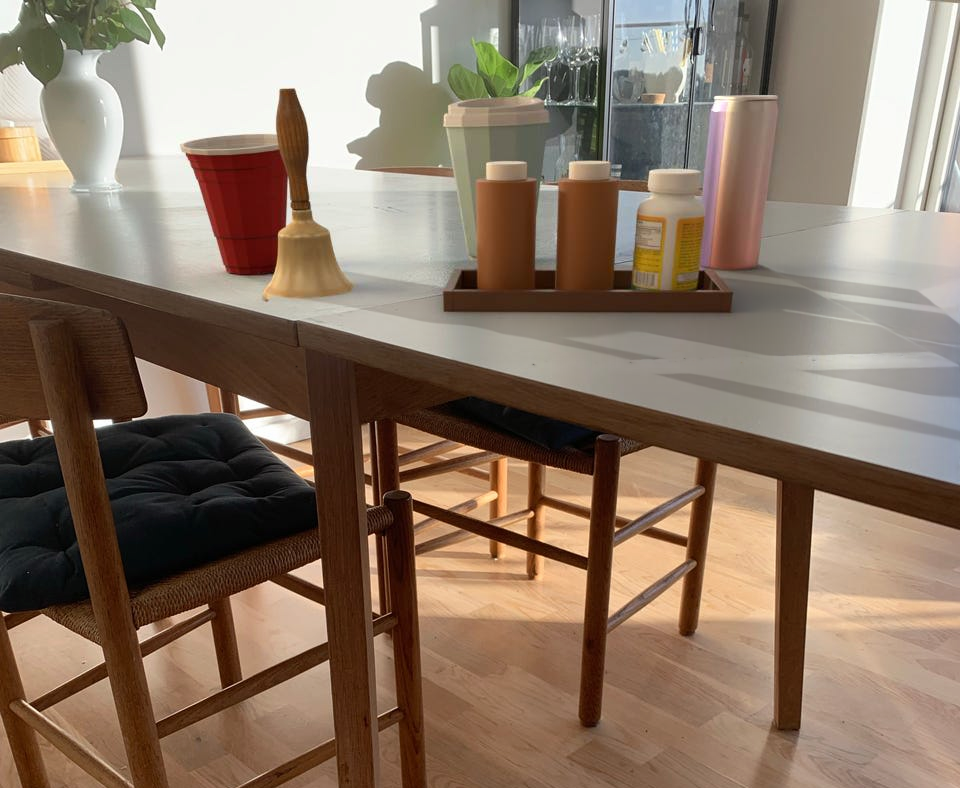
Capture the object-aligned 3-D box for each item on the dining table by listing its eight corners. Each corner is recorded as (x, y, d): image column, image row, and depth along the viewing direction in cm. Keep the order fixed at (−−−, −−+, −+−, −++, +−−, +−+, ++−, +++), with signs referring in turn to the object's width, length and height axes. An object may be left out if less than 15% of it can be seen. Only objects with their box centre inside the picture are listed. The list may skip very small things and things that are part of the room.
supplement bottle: (629, 305, 76) (639, 173, 71) (630, 292, 81) (639, 167, 76) (697, 306, 76) (711, 173, 71) (694, 293, 80) (707, 168, 75)
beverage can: (682, 271, 93) (699, 96, 86) (716, 264, 97) (735, 95, 89) (735, 278, 89) (757, 96, 82) (768, 270, 93) (792, 95, 85)
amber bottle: (606, 292, 81) (614, 159, 76) (617, 303, 77) (626, 164, 72) (551, 293, 81) (555, 160, 76) (559, 304, 77) (563, 164, 72)
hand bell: (308, 308, 79) (287, 88, 71) (243, 297, 84) (216, 89, 75) (376, 293, 85) (363, 87, 77) (311, 283, 89) (293, 88, 81)
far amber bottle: (531, 292, 82) (533, 160, 76) (537, 303, 77) (540, 164, 72) (475, 293, 81) (474, 160, 76) (479, 304, 77) (478, 165, 72)
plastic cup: (176, 276, 93) (154, 139, 87) (235, 259, 102) (218, 133, 96) (273, 282, 90) (257, 140, 84) (325, 264, 99) (314, 134, 93)
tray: (709, 294, 83) (712, 268, 82) (730, 320, 74) (733, 292, 73) (454, 293, 84) (453, 268, 83) (443, 318, 75) (442, 291, 74)
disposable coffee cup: (541, 270, 94) (545, 97, 87) (436, 268, 96) (431, 98, 88) (551, 253, 103) (555, 96, 96) (455, 252, 105) (451, 97, 97)
